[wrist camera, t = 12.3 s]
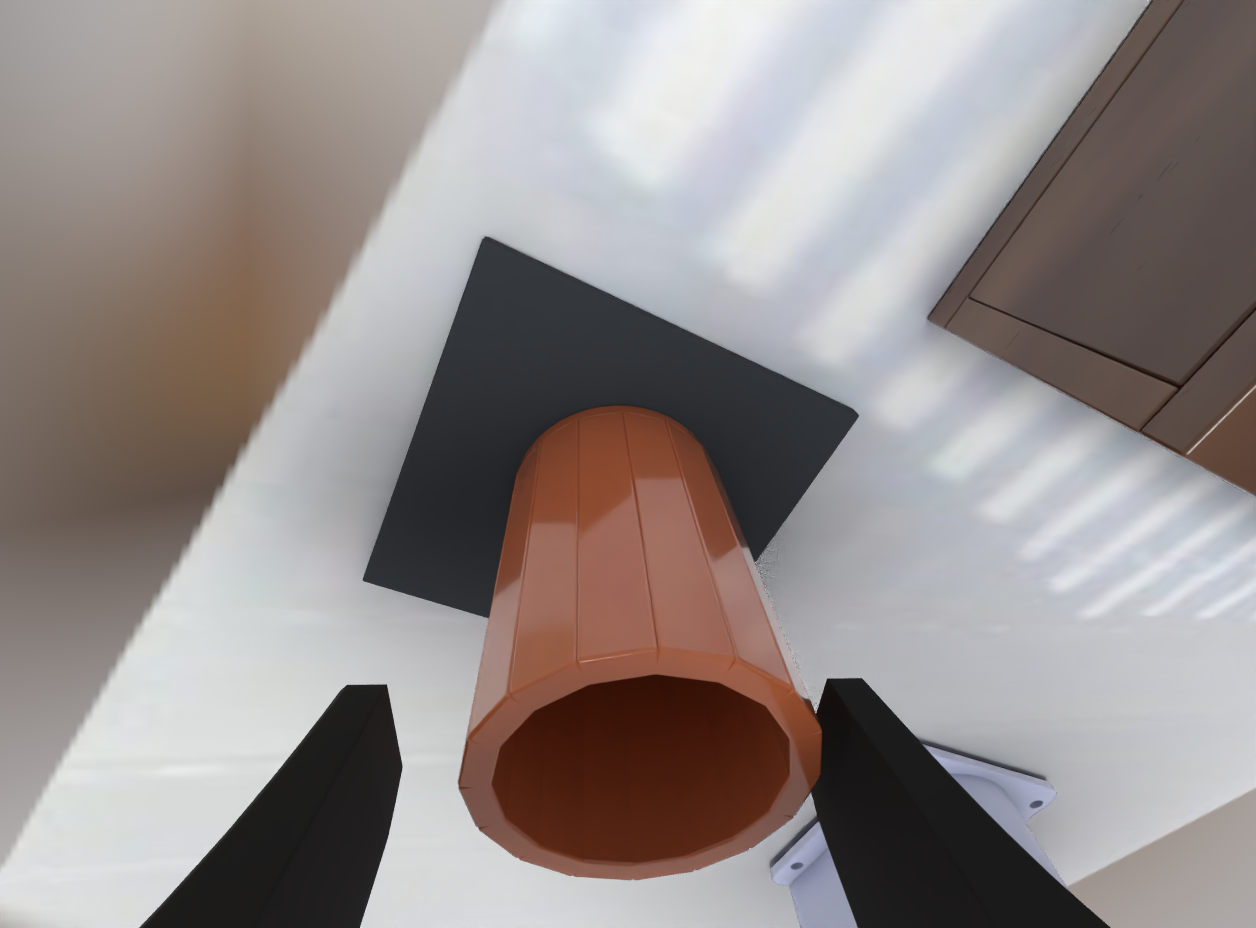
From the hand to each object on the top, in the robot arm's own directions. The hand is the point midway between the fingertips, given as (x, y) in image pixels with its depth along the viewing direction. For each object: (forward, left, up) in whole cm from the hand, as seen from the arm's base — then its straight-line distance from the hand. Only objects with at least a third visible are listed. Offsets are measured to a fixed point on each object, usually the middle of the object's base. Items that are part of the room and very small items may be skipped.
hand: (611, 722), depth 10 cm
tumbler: (0, 0, -7) cm, 7 cm away
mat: (0, 0, -7) cm, 7 cm away
